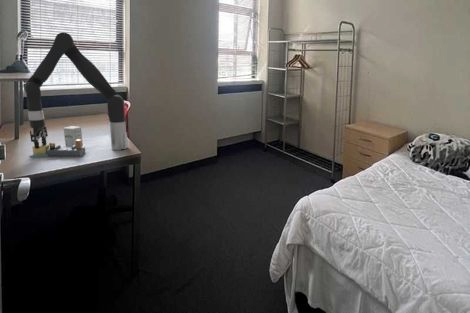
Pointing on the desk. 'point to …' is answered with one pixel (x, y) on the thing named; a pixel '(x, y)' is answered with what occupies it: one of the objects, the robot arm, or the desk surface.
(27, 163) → the desk surface
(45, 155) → the mat
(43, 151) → the tan rectangular block
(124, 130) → the robot arm
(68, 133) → the supplement box
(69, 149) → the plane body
